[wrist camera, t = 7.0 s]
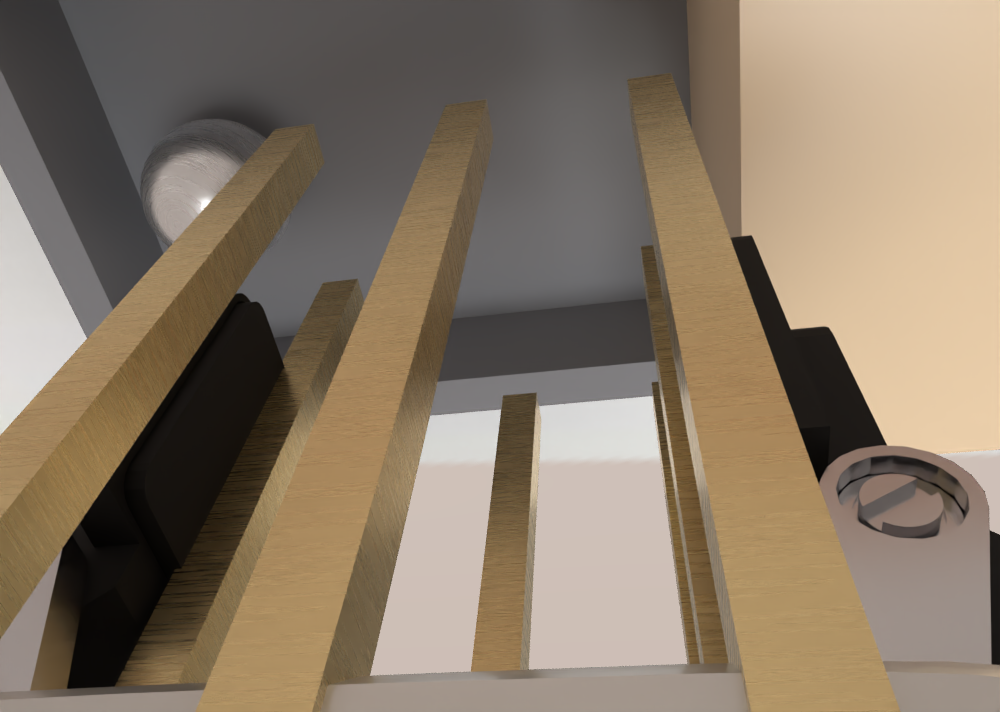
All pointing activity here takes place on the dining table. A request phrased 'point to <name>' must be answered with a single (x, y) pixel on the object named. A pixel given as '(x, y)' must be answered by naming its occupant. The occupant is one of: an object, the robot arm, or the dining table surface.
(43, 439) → the tan slotted block
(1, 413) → the dining table surface
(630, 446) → the dining table surface
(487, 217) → the shaker tray
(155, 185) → the ball
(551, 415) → the dining table surface
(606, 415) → the dining table surface
